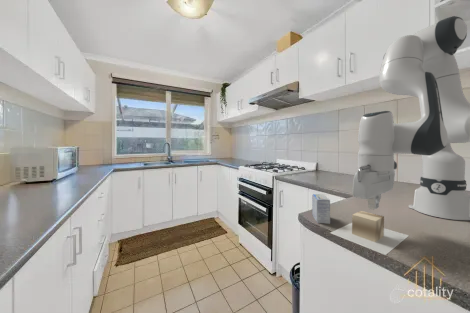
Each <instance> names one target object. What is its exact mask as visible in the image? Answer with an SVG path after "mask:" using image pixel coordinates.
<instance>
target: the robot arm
mask: <svg viewBox="0 0 470 313" xmlns="http://www.w3.org/2000/svg"><path fill="white" fill-rule="evenodd" d="M466 23H467V22H465V21H464V19H463V18H462V17H460V16H457V15H456V16H455V15H453V16H452V15H451V16H449V17H447V18H443V19H440V20H438V22H437V23H434V24H432V25H430V26H427V27H425V28H423V29H421V30H418V31H417V32H414V33H413V34H409V35H404V36H401V37H398V38H396V39H395V40H394V41H392V42H391V43H390V44H389V46H388V47H387V49H386V52H385V53H384V55H383V58H382V63H381V67H380V72H379V75H378V85H379V86H380V88H381V89H382V90H383V91H385V92H386V93H389V94H392V95H397V96H409V97H416V98H418V103H419V110H420V118H419V119H417V120H415V121H410V122H409V121H408V122H399V123H394V116H393V112H392V111H391V110H383V111H376V112H370V113H365V114H364V115H362V116H361V118H360V121H359V124H358V133H357V135H358V136H357V143H358V151H357V159H356V160H357V168H356V169H357V171H356V172H355V173H354V175H353V180H352V192H351V193H352V196H353V198H358V199H361V200H366V201H367V205H368V206H367V208H368V209H369V210H373V211H374V210H376V209H379V208H380V201H381V199H382V195H383V194H385V193H388V192H392V190H393V188H394V185H395V178H396V177H395V175H396V173H395V172H396V171H395V170H397V169H398V163H397V161H396V160H395V154H400V155H401V154H403V155H404V154H405V155H406V154H407V155H410V154H411V155H417V156H418V155H419V156H421V162H422V163H421V169H422V170H421V173H422V174H421V176H420V180H419V182H420V183H419V185H420V186H419V187H418V188H416V189H415V190H414V197H413V203H412V204H408V208H409V209H411V210H415V211H416V212H419V213H421V214H425V215H427V216H430V217H431V216H432V217H434V218H435V217H437V218H441V219H446V220H454V221H470V194H468V193H467V192H466V190H467V180H465V179H466V178H465V175H466V160H465V158H464V157H463V156H461V155H459V154H457V153H456V152H455V151H454V149H453V148H452V145H451V144H465V143H470V102H469V101H468V100H467V98H466V96H465V94H464V92H463V87H462V81H461V75H460V70H459V65H458V62H457V60H456V57H455V54H456V53H457V50H458V49H459V48H460V47H461V46H462V45H463V43H464V41H465V40H466V39H467V37H468V36H467V34H468V27H467V24H466Z"/></svg>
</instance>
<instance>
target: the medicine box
mask: <svg viewBox="0 0 470 313" xmlns="http://www.w3.org/2000/svg"><path fill="white" fill-rule="evenodd" d="M311 200H312V201H311V205H312V210H311V212H312V217H313V218H314V220H315V221H316V223H317V224H327V225H329V224H331V199H329V197H327V196H326V195H325V194H317V193H316V194H314V193H313V194H312V197H311Z"/></svg>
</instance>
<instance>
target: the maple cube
mask: <svg viewBox="0 0 470 313" xmlns="http://www.w3.org/2000/svg"><path fill="white" fill-rule="evenodd" d="M351 215H352V217H351V218H352V219H351V221H352V222H351V223H352V234H354V235H357V236H359V237H362V238H365V239H368V240H371V241H373V242H376V241H378V240H379V239H381V238H382V237H383V236H384V228H385V216H383V215H379V214H376V213H371V212H368V211H364V210H360V211H358V212H355V213H353V214H351Z"/></svg>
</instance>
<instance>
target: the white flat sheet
mask: <svg viewBox="0 0 470 313" xmlns="http://www.w3.org/2000/svg"><path fill="white" fill-rule="evenodd" d="M330 234H332V235H334V236H336V237H338V238H342V239H344V240H346V241H349V242H351V243H354V244H357V245H360V246H362V247H364V248H366V249H369V250H372V251H374V252H376V253H379V254H381V255H384V256H387V254H389V253H390V252H392V250H394V249H395V248H396V247H397V246H398V245H400V244H401V243H402V242H403V241H404V240H406V239H407V238H408V237H409V234H405V233H401V232H398V231H395V230H392V229H390V228H389V229H388V228H385V227H384V236H383V237H382V238H381V239H379V240H378V241H376V242H373V241H371V240H368V239H365V238H362V237H359V236H357V235H354V234H352V222H350V223H348V224H346V225H343V226H341V227H339V228H337V229H335V230H333V231H331V232H330Z"/></svg>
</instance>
